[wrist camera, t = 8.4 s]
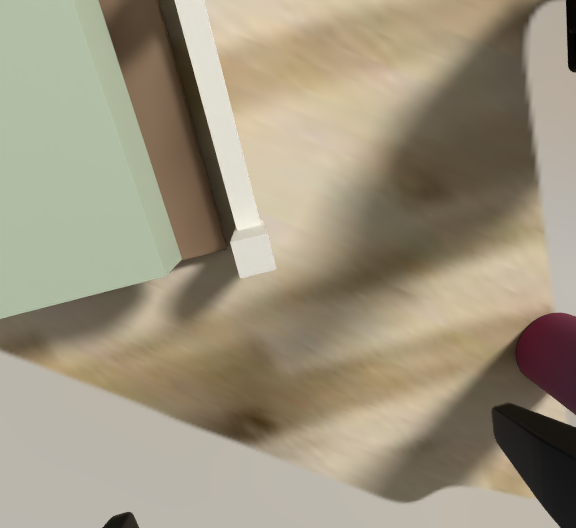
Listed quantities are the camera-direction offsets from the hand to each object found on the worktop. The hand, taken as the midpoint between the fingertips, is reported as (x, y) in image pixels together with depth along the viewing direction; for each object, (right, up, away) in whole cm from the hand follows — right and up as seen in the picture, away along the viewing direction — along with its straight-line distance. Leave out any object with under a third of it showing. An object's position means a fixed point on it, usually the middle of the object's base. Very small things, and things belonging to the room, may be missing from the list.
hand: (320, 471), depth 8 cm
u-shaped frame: (-4, +12, +10) cm, 16 cm away
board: (-10, +10, +5) cm, 15 cm away
